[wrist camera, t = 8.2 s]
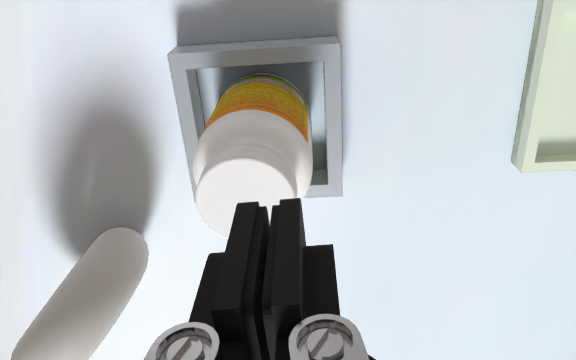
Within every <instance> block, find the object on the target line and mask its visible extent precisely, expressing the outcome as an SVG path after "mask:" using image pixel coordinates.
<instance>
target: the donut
mask: <svg viewBox="0 0 576 360" xmlns="http://www.w3.org/2000/svg"><path fill="white" fill-rule="evenodd" d="M148 255H149V252H148V246H147V243H146V242H145V240H144V238H143V237H142V236H141V235H140V234H139V233H138V232H136V231H134V230H132V229H130V228H124V227H117V228H112V229H109V230H107V231H105V232H103V233H102V234H100V235H99V236H98V237H97V238H96V239H95V240H94V242H93V243H92V244H91V245H90V247H89V248H88V249H87V250H86V252H85V253H84V254H83V256H82V257H81V258H80V260H79V261H78V262H77V263H76V265H75V266H74V267H73V269H72V270H71V271H70V273H69V274H68V275H67V277H66V278H65V279H64V281H63V282H62V283H61V285H60V286H59V287H58V289H57V290H56V291H55V293H54V294H53V295H52V297H51V298H50V299H49V301H48V302H47V303H46V305H45V306H44V307H43V309H42V310H41V311H40V313H39V314H38V315H37V317H36V318H35V320H34V321H33V322H32V324H31V325H30V326H29V328H28V329H27V330H26V332H25V333H24V335H23V336H22V337H21V339H20V340H19V342H18V343H17V345H16V347H15V349H14V351H13V353H12V357H11V360H88V359H89V358H90V356H91V355H92V354H93V353H94V351H95V350H96V349H97V347H98V346H99V345H100V343H101V342H102V341H103V339H104V338H105V337H106V335H107V334H108V332H109V331H110V329H111V328H112V327H113V325H114V324H115V322H116V321H117V319H118V318H119V316H120V315H121V313H122V311H123V310H124V308H125V307H126V305H127V303H128V302H129V300H130V299H131V297H132V295H133V293H134V291H135V290H136V288H137V286H138V284H139V282H140V281H141V279H142V277H143V274H144V272H145V270H146V268H147V261H148Z"/></svg>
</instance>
